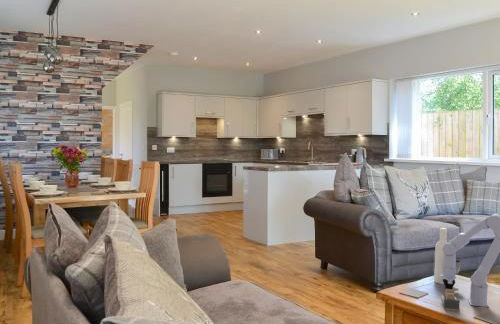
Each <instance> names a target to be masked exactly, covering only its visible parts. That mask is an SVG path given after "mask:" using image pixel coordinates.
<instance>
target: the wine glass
mask: <svg viewBox="0 0 500 324" xmlns="http://www.w3.org/2000/svg"><path fill="white" fill-rule="evenodd" d="M461 263H462V262H461V260H459V259H456V272H455V276H456V275H457V274H459V272H460V270H461ZM443 289H445V286H444V287H443ZM459 290H460V289H459V288H457V287H456V286H455V287H454V286H453V291H455V292H457V291H459Z"/></svg>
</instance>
